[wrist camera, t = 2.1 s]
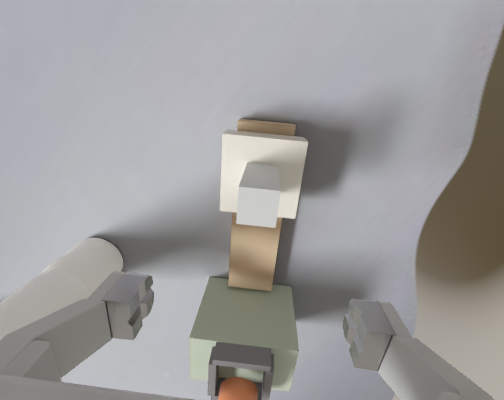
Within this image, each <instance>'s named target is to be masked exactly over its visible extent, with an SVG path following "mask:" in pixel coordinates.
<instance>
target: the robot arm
mask: <svg viewBox="0 0 504 400" xmlns="http://www.w3.org/2000/svg"><path fill="white" fill-rule="evenodd" d="M152 284H153V280H152V276H150V275H144V274H137V273H130V272H121V271H114V272H112V273H111V274H110V275H109V276H108V277H107V278H106V279H105V280H104V281H103V282H102V283H101V285H100V286H99V287H98V288H97V289H96V290H95V291H94V292H93V293H92V294H91V295H90V296H89V297H88V298H87V299H81V300H79V301H77V302H75V303H73V304H71V305H68V306H66V307H64V308H62V309H60V310H58V311H56V312H54V313H52V314H49V315H47V316H45V317H43V318H41V319H39V320H37V321H35V322H33V323H30V324H28V325H26V326H24V327H22V328H20V329H18V330H16V331H13V332H11V333H9V334H7V335H6V336H5V337H3V338H2V339H1V340H0V400H193V399H186V398H178V397H171V396H163V395H155V394H148V393H140V392H133V391H125V390H117V389H110V388H102V387H95V386H87V385H79V384H72V383H64V382H62V380H61V378H62V377H63V376H64V375H66V374H67V373H68V372H70V371H71V370H72V369H73V368H75V367H76V366H77V365H79V364H80V363H81V362H83V361H84V360H85V359H87V358H88V357H89V356H90V355H92V354H93V353H94V352H96V351H97V350H98V349H100V348H101V347H102V346H103V345H105V344H106V343H107V342H109V341H110V340H111V339H112V338H118V339H128V340H134V339H135V337H136V336H137V334H138V332H139V330H140V329H141V327H142V319H144V318H145V317H147V316H148V314H149V313H150V311H151V308H152V305H153V301H154V292H153V291H152V289H151V288H150V287H151V286H152ZM348 309H349V312H348V313H346V314H345V317H344V321H343V330H344V335H345V338H346V340H347V341H348V342H349V343H350V344H351V347H350V350H349V351H350V354H351V358H352V361H353V364H354V367H355V368H361V369H367V370H374V371H378V373H379V374H380V375H381V377H382V378H383V379H384V380H385V381H386V382H387V384H388V385H389V386H390V387H391V388H392V390H393V391H394V392H395V393H396V394H397V395H398V397H399V398H400V399H401V400H494V399H493V398H492V396H490V395H489V394H488V393H486V392H485V391H484V390H483V389H481V388H480V387H478V386H477V385H476V384H475V383H473V382H472V381H471V380H470V379H468V378H467V377H466V376H464V375H463V374H462V373H460V372H459V371H458V370H457V369H455V368H454V367H453V366H452V365H450V364H449V363H448V362H446V361H445V360H444V359H442V358H441V357H440V356H438V355H437V354H436V353H435V352H433V351H432V350H431V349H430V348H428V347H427V346H426V345H424V344H423V343H422V342H420V341H419V340H418V339H417V338H412V336H411V335H410V333H409V331H408V330H407V328H406V326H405V325H404V323H403V321H402V320H401V318H400V317H399V315H398V313H397V312H396V310H395V308H394V307H393V305H392V304H391V303H390V302H380V301H369V300H359V299H350V301H349V303H348Z"/></svg>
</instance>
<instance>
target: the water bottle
mask: <svg viewBox="0 0 504 400" xmlns="http://www.w3.org/2000/svg"><path fill="white" fill-rule="evenodd" d="M122 268H123V258H122V255H121V253H120V252H119V250H118V249H117V248H116V247H115V246H114V245H113V244H112V243H110V242H108V241H106V240H104V239H100V238H87V239H84V240H82V241H80V242H79V243H77V244H76V245H75V246H74V247H72V248H71V249H70V250H69V251H68V252H67V253H66V254H65V255H64V256H62V257H60V258H59V259H57V260H56V261H54V262H53V263H52V264H50V265H49V266H48V267H47V268H46V269H45V270H44V271H43V272H42V273H41V274H40V275H39V276H37V277H35V278H34V279H32V280H31V281H29V282H28V283H26V284H25V285H23V286H22V287H21V288H19V289H18V290H16V291H15V292H14V293H12V294H11V295H10V296H8V297H7V298H6V299H4V300H3V301H2V302H0V340H1V339H2V338H3V337H5V336H6V335H7V334H9V333H11V332H13V331H16V330H18V329H20V328H22V327H24V326H26V325H28V324H30V323H33V322H35V321H37V320H39V319H41V318H43V317H45V316H47V315H49V314H52V313H54V312H56V311H58V310H60V309H62V308H64V307H66V306H68V305H71V304H73V303H75V302H77V301H79V300H81V299H87V298H88V297H89V296H90V295H91V294H92V293H93V292H94V291H95V290H96V289H97V288H98V287H99V286H100V285H101V283H102V282H103V281H104V280H105V279H106V278H107V277H108V276H109V275H110V274H111V273H112V272H114V271H121V270H122Z"/></svg>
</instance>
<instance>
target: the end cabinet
mask: <svg viewBox="0 0 504 400" xmlns="http://www.w3.org/2000/svg"><path fill="white" fill-rule="evenodd" d="M228 280H229V279H223V278H214V277H210V278H209V281H208V284H207V287H206V290H205V293H204V296H203V299H202V302H201V305H200V308H199V311H198V314H197V317H196V320H195V323H194V326H193V329H192V331H191V334H190V337H189V345H190V379H197V380H205V381H208V395H211V400H218V396H219V390H220V385H221V383H222V382H223V381H224V380H225V379H228V378H231V377H242V378H246V379H248V380H250V381H252V382H253V383H254V384H255V385H256V386H257V388H258V399H257V400H269V397H270V392H271V389H275V390H283V391H290V387H291V382H292V378H293V374H294V369H295V365H296V361H297V356H298V352H299V350H298V337H297V328H296V320H295V314H294V305H293V296H292V286H284V285H275V284H272V290H271V291H265V290H256V289H248V288H239V287H230V286H228Z"/></svg>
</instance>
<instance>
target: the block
mask: <svg viewBox="0 0 504 400" xmlns="http://www.w3.org/2000/svg"><path fill="white" fill-rule="evenodd" d="M295 128H296V126H295V124H289V123H279V122H268V121H258V120H247V119H239V120H238V131H246V132H256V133H267V134H277V135H287V136H294V135H295ZM236 218H237V213H235V212H233V214H232V230H231V247H230V263H229V280H228V286H230V287H239V288H248V289H256V290H265V291H271V290H272V284H273V277H274V270H275V263H276V257H277V250H278V243H279V236H280V230H281V223H282V217H277V222H276V228H271V227H262V226H252V225H243V224H236Z"/></svg>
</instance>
